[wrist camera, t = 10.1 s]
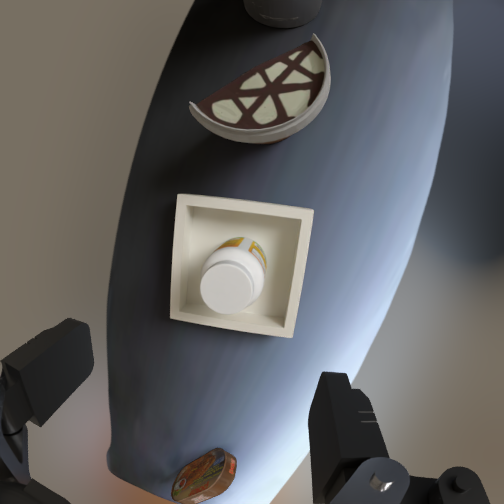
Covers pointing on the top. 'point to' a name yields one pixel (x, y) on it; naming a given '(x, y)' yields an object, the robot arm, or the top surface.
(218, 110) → the ice cream tub
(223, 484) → the tin
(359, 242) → the top surface
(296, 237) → the tray
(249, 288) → the supplement bottle
